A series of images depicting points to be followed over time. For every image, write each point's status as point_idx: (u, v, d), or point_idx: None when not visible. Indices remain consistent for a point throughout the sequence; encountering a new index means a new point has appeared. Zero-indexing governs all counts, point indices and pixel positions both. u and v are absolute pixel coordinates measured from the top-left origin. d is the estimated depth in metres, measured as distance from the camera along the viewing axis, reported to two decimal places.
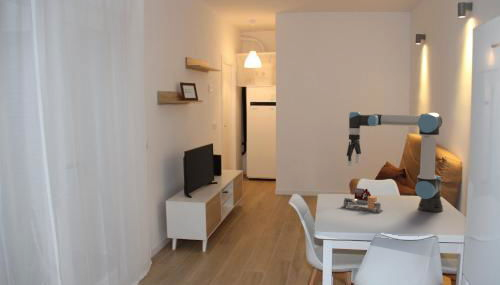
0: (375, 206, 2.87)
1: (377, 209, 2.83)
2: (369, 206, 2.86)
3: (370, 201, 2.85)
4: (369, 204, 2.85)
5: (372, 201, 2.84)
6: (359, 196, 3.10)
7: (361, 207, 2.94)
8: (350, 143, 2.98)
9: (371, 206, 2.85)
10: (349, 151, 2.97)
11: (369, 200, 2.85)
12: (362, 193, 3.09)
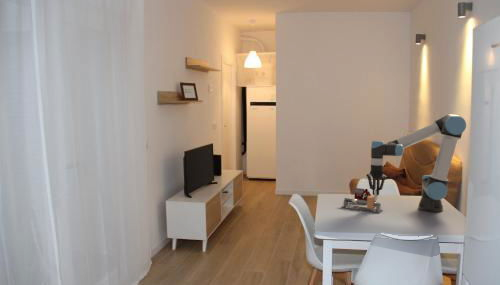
0: (374, 206, 2.87)
1: (377, 209, 2.83)
2: (368, 206, 2.86)
3: (369, 201, 2.85)
4: (368, 204, 2.86)
5: (371, 201, 2.84)
6: (359, 196, 3.10)
7: (361, 207, 2.94)
8: None
9: (370, 206, 2.85)
10: None
11: (368, 200, 2.85)
12: (362, 193, 3.09)
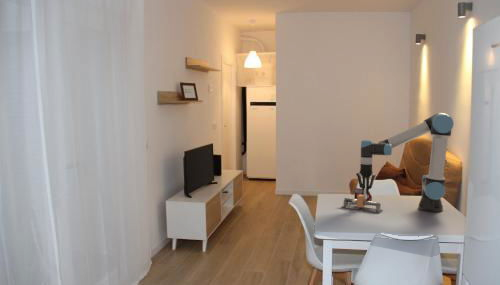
0: (364, 204, 2.91)
1: (377, 209, 2.83)
2: (358, 204, 2.90)
3: (359, 200, 2.89)
4: (358, 202, 2.90)
5: (361, 200, 2.88)
6: None
7: (361, 207, 2.94)
8: None
9: (360, 204, 2.89)
10: None
11: (358, 199, 2.89)
12: (362, 193, 3.09)
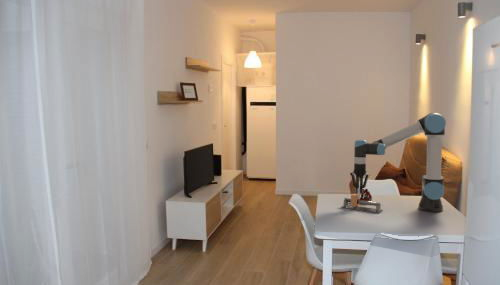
0: (358, 204, 2.94)
1: (377, 209, 2.83)
2: (352, 204, 2.92)
3: (353, 199, 2.91)
4: (352, 202, 2.92)
5: (355, 199, 2.91)
6: None
7: (361, 207, 2.94)
8: None
9: (354, 204, 2.91)
10: None
11: (352, 198, 2.92)
12: (362, 193, 3.09)
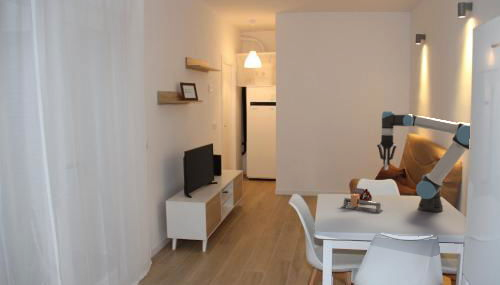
0: (358, 204, 2.94)
1: (377, 209, 2.83)
2: (352, 204, 2.92)
3: (353, 199, 2.91)
4: (352, 202, 2.92)
5: (355, 199, 2.91)
6: None
7: (361, 207, 2.94)
8: None
9: (354, 204, 2.91)
10: None
11: (352, 198, 2.92)
12: (362, 193, 3.09)
